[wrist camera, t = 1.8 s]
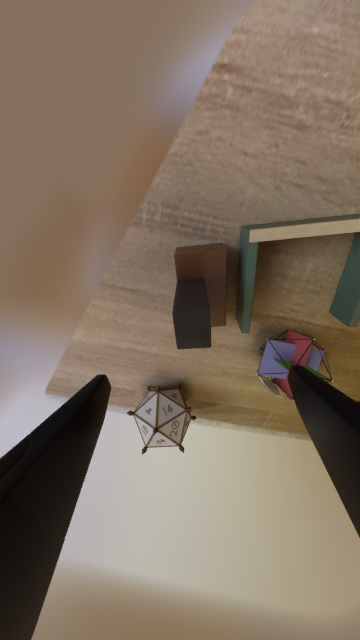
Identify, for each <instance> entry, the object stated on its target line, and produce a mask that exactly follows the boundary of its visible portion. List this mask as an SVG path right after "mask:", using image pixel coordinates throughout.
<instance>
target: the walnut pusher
mask: <svg viewBox="0 0 360 640" xmlns="http://www.w3.org/2000/svg"><path fill="white" fill-rule="evenodd" d="M174 257H175V266H176V275H177V285H176V292H175V299H174V305H173V312H172V315H173V322H174V329H175V336H176V343H177V349H192V348H210V347H211V327H215V326H225V325H226V288H227V249H226V247H225V246H224V245H223V244H222V243H216V244H206V245H196V246H186V247H177V248H176V251H175V255H174Z"/></svg>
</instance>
